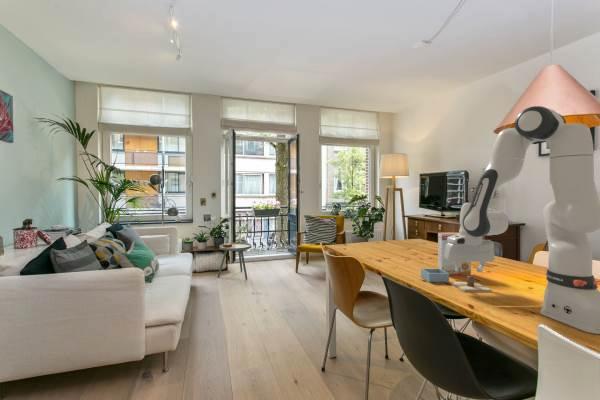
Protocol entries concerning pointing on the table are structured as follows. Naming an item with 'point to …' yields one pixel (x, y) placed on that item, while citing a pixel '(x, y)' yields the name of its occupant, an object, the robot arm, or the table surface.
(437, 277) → the blue square tray
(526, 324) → the table surface
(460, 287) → the lid
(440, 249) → the cracker box
